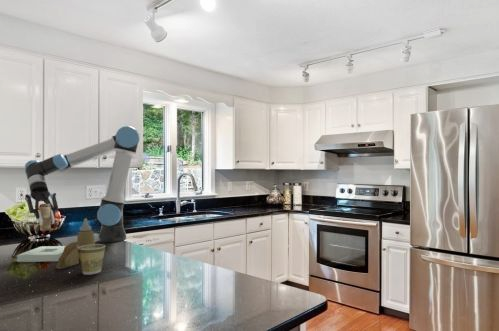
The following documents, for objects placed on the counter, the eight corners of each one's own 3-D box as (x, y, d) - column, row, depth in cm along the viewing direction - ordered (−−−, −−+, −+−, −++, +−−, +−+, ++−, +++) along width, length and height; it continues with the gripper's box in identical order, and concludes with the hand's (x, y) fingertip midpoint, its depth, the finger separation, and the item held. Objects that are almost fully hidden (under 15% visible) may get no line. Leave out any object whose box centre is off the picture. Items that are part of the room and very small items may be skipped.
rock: (58, 265, 144) (84, 257, 151) (51, 247, 147) (77, 240, 154) (54, 277, 151) (79, 269, 157) (48, 259, 154) (73, 251, 161)
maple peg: (52, 228, 174) (52, 203, 174) (47, 230, 169) (46, 204, 169) (43, 228, 174) (43, 203, 174) (37, 230, 169) (37, 204, 169)
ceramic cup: (95, 276, 136) (95, 249, 136) (71, 275, 138) (71, 249, 138) (114, 267, 149) (114, 242, 149) (93, 266, 151) (92, 242, 151)
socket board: (77, 252, 178) (77, 245, 178) (58, 261, 160) (58, 254, 160) (40, 252, 178) (40, 246, 178) (17, 261, 160) (17, 255, 160)
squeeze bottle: (98, 256, 169) (98, 217, 169) (89, 260, 161) (89, 219, 161) (82, 255, 170) (82, 217, 170) (72, 260, 162) (72, 219, 162)
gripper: (55, 190, 189) (65, 225, 177) (16, 191, 177) (24, 229, 165) (58, 180, 185) (69, 215, 173) (18, 181, 173) (27, 219, 161)
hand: (47, 222), depth 169 cm, fingers closed on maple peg, 4 cm apart
